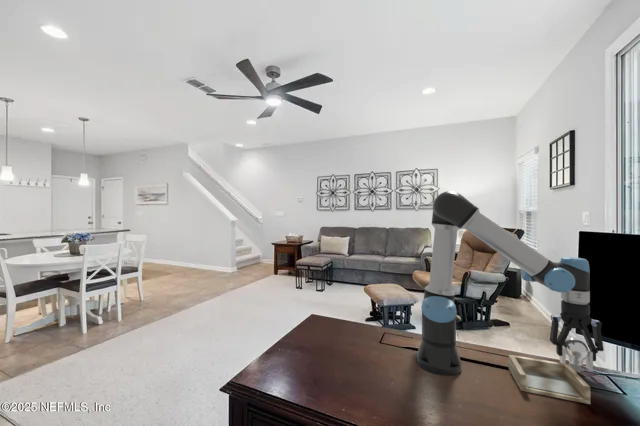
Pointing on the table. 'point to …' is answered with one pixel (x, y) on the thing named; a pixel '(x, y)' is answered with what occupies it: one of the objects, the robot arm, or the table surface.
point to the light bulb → (575, 353)
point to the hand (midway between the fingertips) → (575, 367)
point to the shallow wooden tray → (548, 379)
